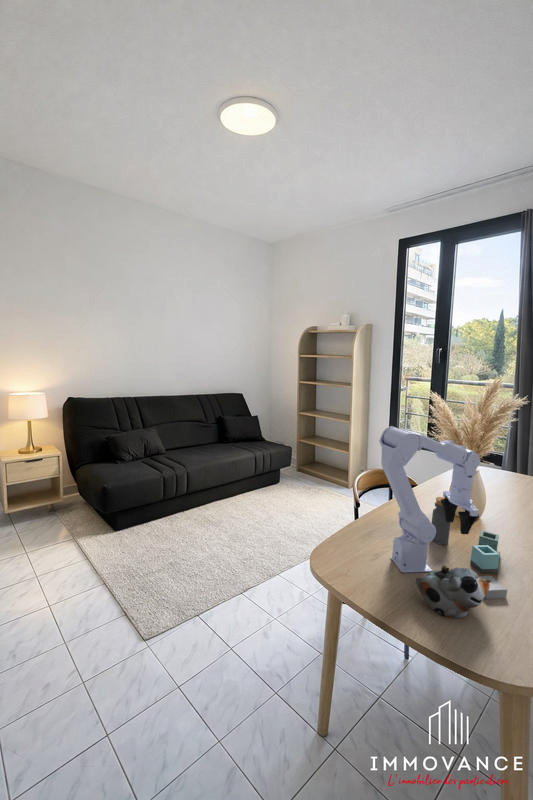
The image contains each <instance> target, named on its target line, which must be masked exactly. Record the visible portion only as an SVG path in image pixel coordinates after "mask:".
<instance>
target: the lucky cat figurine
mask: <svg viewBox="0 0 533 800" xmlns="http://www.w3.org/2000/svg"><path fill="white" fill-rule="evenodd" d="M490 582H491V580H488V579H487V580H486V579H482V578H481V577H480V576H479V575H477V574H476V573H475V572H474V571H472V570H471V569H469V568H465V567H456V568H451V569H450V568H449V567H448V566H447V565H446V564H445V565H442V567H441V570H438V571H437V570H432V571H431V572H427V573H426V574H425V576H423V577H422V578H420V577H417V578H416V579H415V584H416V586H417V587H416V588H418V590H419V592H420V594H421V596H422V597H423V600H424V601H425V602H426V603H427V604H428V606H429V607H430V608H431V609H432V610H433V611H434V612H439V613H440V615H441V617H443V618H445V619H464V618H465V617H466V616H467V615H468V613H469V611H470V609H473V608H476V607H478V606H480V605H481V604H482V603H483V599H485V598H484V597H485V594H486V593H487V592H488V591H489V588H490Z"/></svg>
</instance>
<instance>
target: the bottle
mask: <svg viewBox="0 0 533 800" xmlns="http://www.w3.org/2000/svg"><path fill="white" fill-rule="evenodd" d="M444 498H445V497H443V496H436V497H435V500H436V502H435V503H434V508H433V510H432V515H431V516H432V517H431V523H432V524H433V525H434V526H435V528H436V535H435V537H434V539H433V540H432V541H431V542H433V543H435V544H437V545H448V544H449V540H450V539H449V537H450V530H451V523H452V522H446V518H445V512H444V508H443V505H442V503H441V499H444Z"/></svg>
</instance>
